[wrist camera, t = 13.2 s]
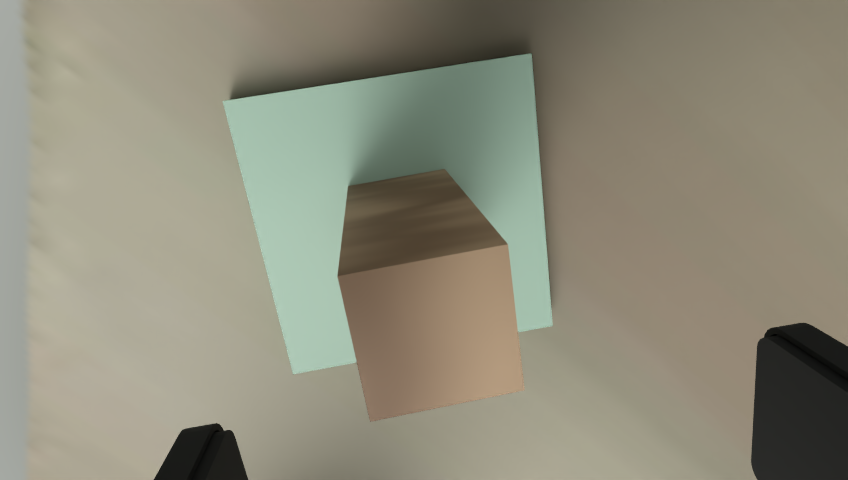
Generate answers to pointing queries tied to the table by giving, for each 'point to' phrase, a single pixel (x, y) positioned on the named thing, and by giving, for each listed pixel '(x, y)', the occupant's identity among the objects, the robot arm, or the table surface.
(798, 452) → the robot arm
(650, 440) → the table surface
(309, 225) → the green pad
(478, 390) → the walnut peg
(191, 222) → the table surface
